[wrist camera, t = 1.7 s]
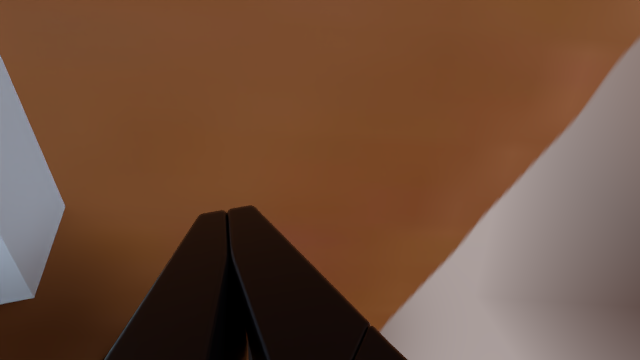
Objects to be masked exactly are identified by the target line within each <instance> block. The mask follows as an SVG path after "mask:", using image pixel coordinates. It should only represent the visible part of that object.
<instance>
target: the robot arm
mask: <svg viewBox="0 0 640 360" xmlns="http://www.w3.org/2000/svg"><path fill="white" fill-rule="evenodd" d="M104 360H407V359H406V358H405V357H404V356H403V355H402V354H401V353H400V352H399V351H398V350H397V349H396V348H395V347H393V346H392V345H391V344H390V343H389V342H388V341H387V340H386V339H385V338H384V337H383V336H382V335H381V333H380V332H379V331H378V330H377V329H376V328H375V327H373V326H370V323H369V322H368V321H367V320H366V319H365V318H364V317H363V316H362V315H361V314H360V313H359V312H358V311H357V310H356V309H355V308H354V307H353V306H352V305H351V304H350V303H349V302H348V301H347V299H346V298H345V297H344V296H343V295H342V294H341V293H340V292H339V291H338V290H337V289H336V288H335V287H334V286H333V285H332V284H331V283H330V282H329V281H328V280H327V279H326V278H325V277H324V276H323V275H322V274H321V273H320V272H319V271H318V270H317V269H316V268H315V267H314V266H313V265H312V264H311V263H310V262H309V261H308V260H307V259H306V258H305V257H304V256H303V255H302V254H301V253H300V252H299V251H298V250H297V249H296V248H295V247H294V246H293V245H292V244H291V243H290V242H289V241H288V240H287V239H286V238H285V237H284V236H283V235H282V234H281V233H280V232H279V231H278V230H277V229H276V228H275V227H274V226H273V225H272V224H271V223H270V222H269V221H268V220H267V219H266V218H265V217H264V216H263V215H262V214H261V213H260V212H259V211H258V210H257V209H256V208H255V207H254V206H252V205H249V206H244V207H238V208H232V209H230V210H229V211H228V213H226V212H225V211H223V210H221V211H215V212H209V213H203V214H201V215H199V216H198V218H197V219H196V221H195V222H194V224H193V225H192V227H191V228H190V230H189V231H188V233H187V234H186V236H185V237H184V239H183V240H182V242H181V243H180V245H179V246H178V248H177V250H176V251H175V253H174V254H173V256H172V257H171V259H170V260H169V262H168V263H167V265H166V266H165V268H164V269H163V271H162V272H161V274H160V275H159V277H158V278H157V280H156V281H155V283H154V284H153V286H152V288H151V289H150V291H149V292H148V294H147V295H146V297H145V298H144V300H143V301H142V303H141V304H140V306H139V307H138V309H137V310H136V312H135V313H134V315H133V316H132V318H131V319H130V321H129V322H128V324H127V326H126V327H125V329H124V330H123V332H122V333H121V335H120V336H119V338H118V339H117V341H116V342H115V344H114V345H113V347H112V348H111V350H110V351H109V353H108V354H107V356H106V357H105V359H104Z"/></svg>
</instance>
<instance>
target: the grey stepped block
mask: <svg viewBox="0 0 640 360" xmlns="http://www.w3.org/2000/svg"><path fill="white" fill-rule="evenodd" d="M64 209H65V205H64V203H63V200H62V198H61V196H60V193H59V191H58V189H57V186H56V184H55V182H54V179H53V177H52V175H51V172H50V170H49V168H48V165H47V163H46V161H45V158H44V156H43V154H42V151H41V149H40V147H39V144H38V142H37V140H36V137H35V135H34V133H33V130H32V128H31V126H30V123H29V121H28V119H27V116H26V114H25V112H24V109H23V107H22V105H21V102H20V100H19V98H18V95H17V93H16V91H15V88H14V86H13V84H12V81H11V79H10V77H9V74H8V72H7V70H6V67H5V65H4V63H3V60H2V58H1V56H0V304H5V303H10V302H15V301H20V300H25V299H31V298H34V297H35V294H36V291H37V288H38V285H39V282H40V279H41V276H42V273H43V271H44V268H45V265H46V262H47V259H48V256H49V253H50V250H51V247H52V244H53V241H54V238H55V235H56V233H57V230H58V227H59V224H60V221H61V218H62V215H63V212H64Z"/></svg>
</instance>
